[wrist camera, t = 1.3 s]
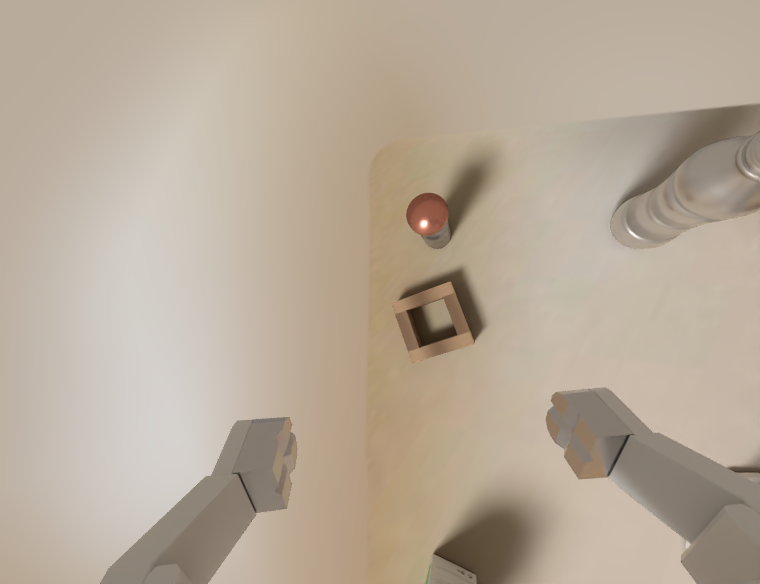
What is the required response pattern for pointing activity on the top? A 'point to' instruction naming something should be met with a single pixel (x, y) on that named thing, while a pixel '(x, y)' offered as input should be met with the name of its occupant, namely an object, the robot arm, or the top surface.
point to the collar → (410, 330)
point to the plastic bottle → (694, 194)
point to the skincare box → (448, 573)
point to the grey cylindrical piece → (430, 219)
